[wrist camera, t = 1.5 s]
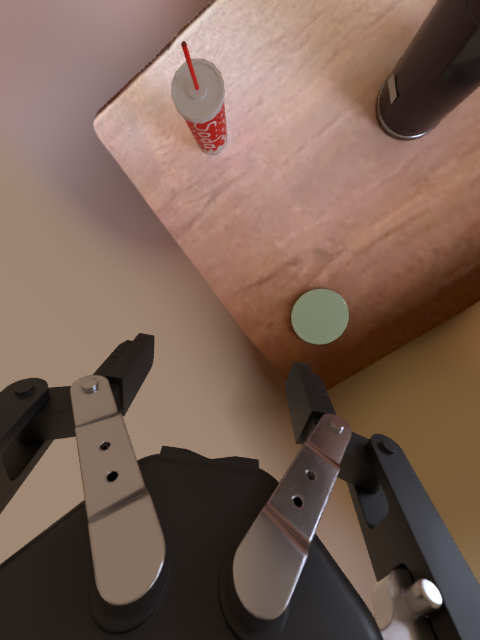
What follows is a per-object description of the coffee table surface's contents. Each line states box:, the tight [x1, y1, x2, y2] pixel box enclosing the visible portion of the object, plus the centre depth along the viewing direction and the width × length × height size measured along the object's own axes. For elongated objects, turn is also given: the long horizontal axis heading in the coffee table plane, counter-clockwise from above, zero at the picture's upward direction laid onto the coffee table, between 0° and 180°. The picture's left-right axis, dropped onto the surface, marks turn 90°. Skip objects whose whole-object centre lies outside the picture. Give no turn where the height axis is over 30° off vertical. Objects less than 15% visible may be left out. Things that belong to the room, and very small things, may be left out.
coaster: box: [291, 289, 349, 344], centre depth 38 cm, size 9×9×1 cm
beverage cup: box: [172, 41, 227, 155], centre depth 29 cm, size 6×6×14 cm
